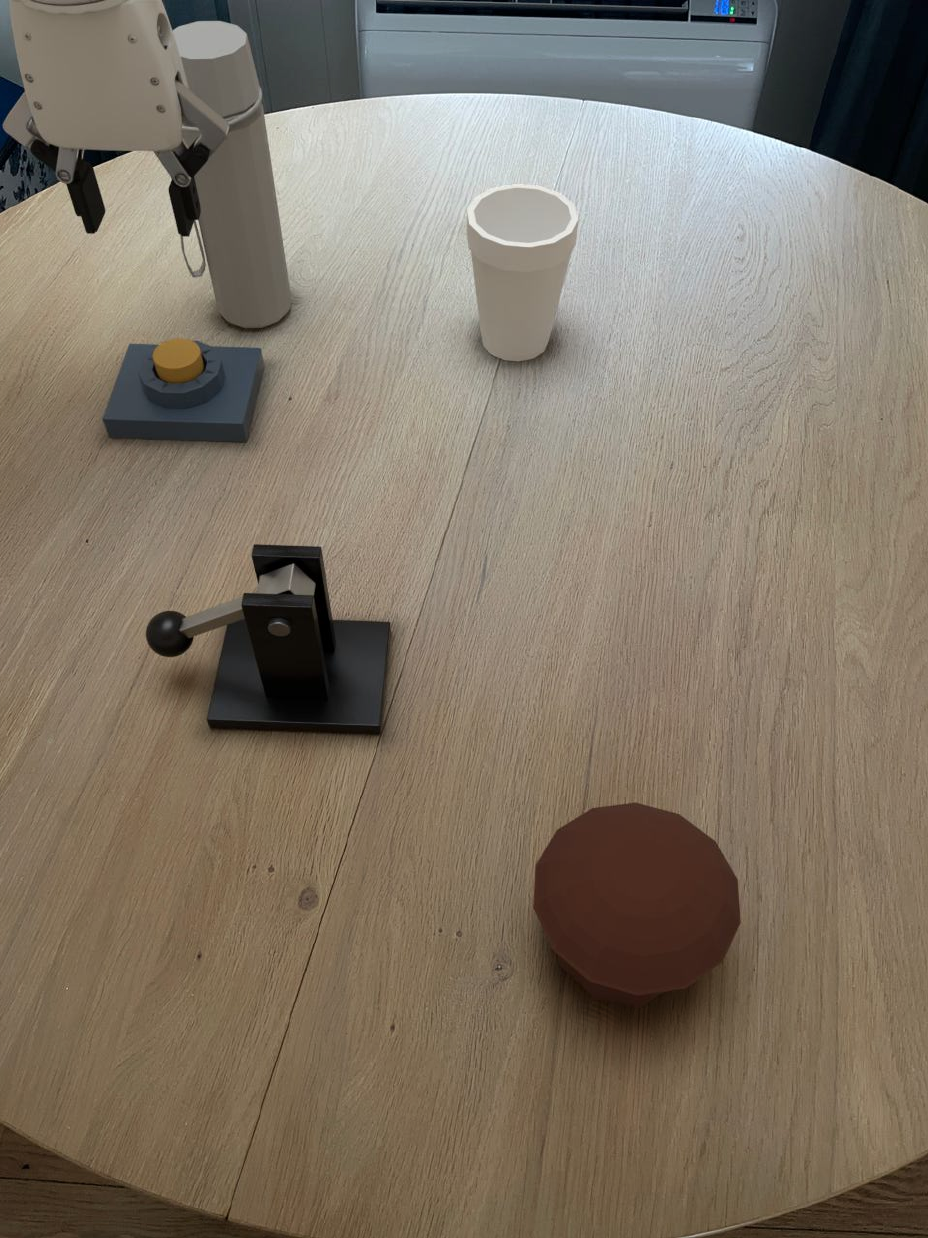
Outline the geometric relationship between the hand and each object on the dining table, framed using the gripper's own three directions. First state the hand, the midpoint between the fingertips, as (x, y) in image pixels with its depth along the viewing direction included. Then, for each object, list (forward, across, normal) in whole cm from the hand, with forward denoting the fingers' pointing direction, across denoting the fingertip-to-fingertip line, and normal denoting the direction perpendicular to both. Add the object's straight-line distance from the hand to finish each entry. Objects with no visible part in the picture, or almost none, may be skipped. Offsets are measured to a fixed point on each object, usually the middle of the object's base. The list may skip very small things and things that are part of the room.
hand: (141, 222), depth 79 cm
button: (+14, 0, 0) cm, 14 cm away
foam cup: (+18, -29, -10) cm, 35 cm away
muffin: (+18, -36, +47) cm, 62 cm away
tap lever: (+12, -10, +29) cm, 33 cm away
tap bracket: (+18, -14, +29) cm, 37 cm away
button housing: (+18, 0, 0) cm, 18 cm away
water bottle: (+18, -3, -13) cm, 22 cm away
